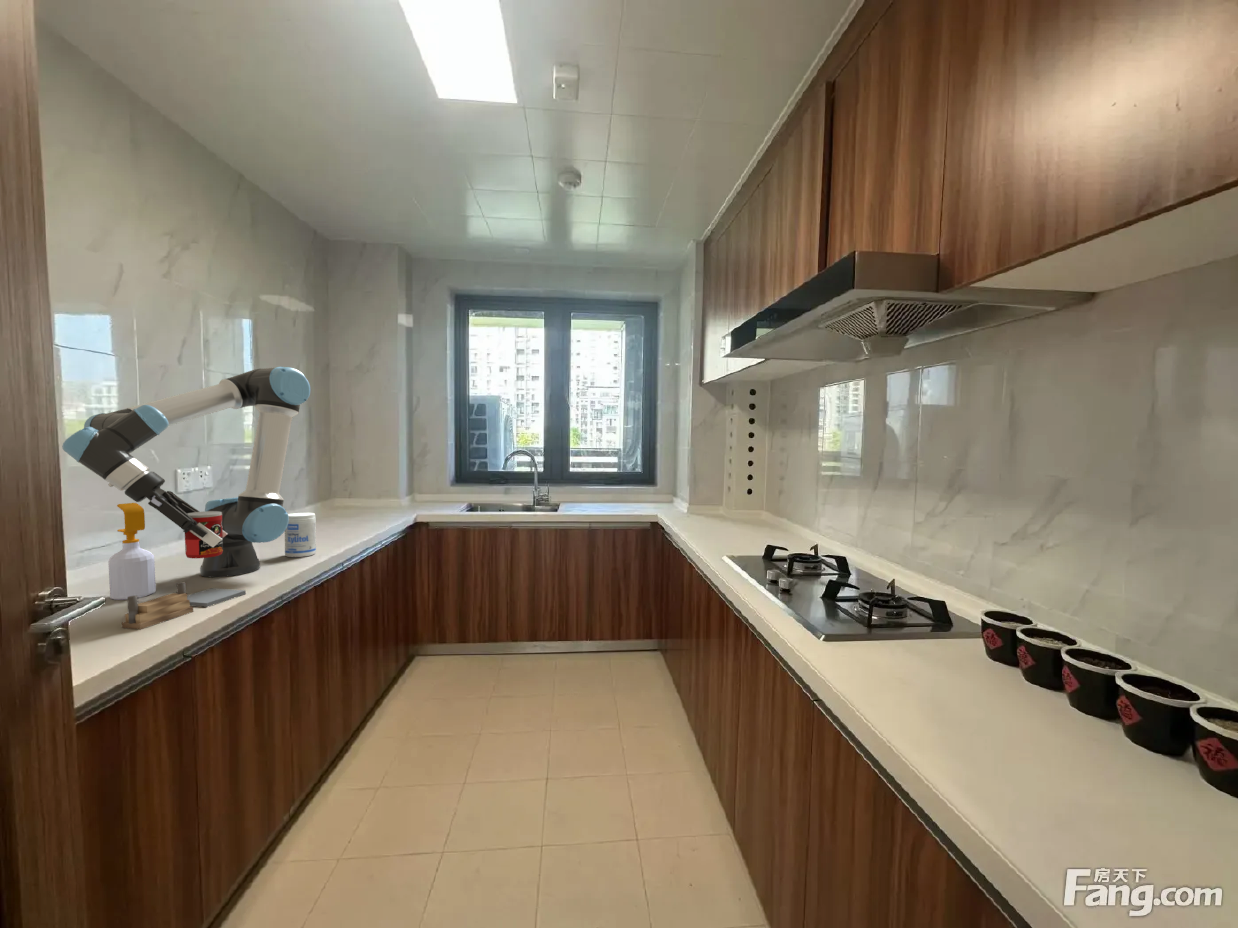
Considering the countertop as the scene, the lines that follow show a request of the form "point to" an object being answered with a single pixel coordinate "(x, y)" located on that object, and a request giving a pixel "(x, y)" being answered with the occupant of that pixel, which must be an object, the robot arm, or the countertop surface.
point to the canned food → (198, 546)
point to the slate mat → (213, 596)
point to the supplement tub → (300, 535)
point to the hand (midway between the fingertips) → (220, 540)
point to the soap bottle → (131, 560)
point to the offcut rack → (157, 609)
